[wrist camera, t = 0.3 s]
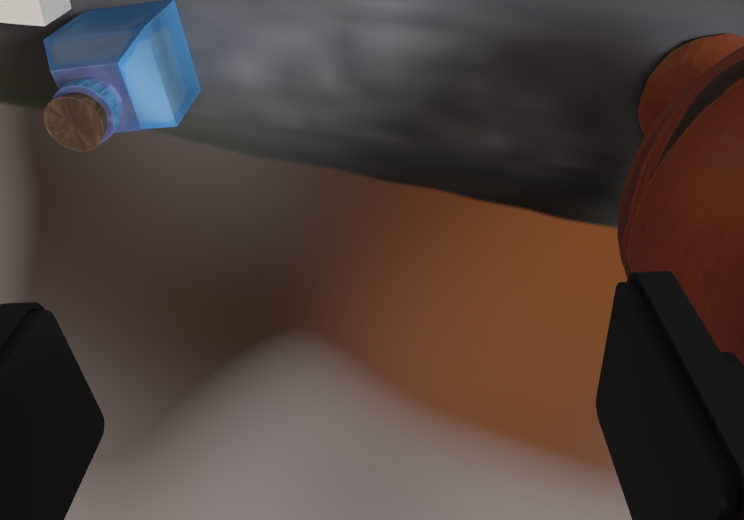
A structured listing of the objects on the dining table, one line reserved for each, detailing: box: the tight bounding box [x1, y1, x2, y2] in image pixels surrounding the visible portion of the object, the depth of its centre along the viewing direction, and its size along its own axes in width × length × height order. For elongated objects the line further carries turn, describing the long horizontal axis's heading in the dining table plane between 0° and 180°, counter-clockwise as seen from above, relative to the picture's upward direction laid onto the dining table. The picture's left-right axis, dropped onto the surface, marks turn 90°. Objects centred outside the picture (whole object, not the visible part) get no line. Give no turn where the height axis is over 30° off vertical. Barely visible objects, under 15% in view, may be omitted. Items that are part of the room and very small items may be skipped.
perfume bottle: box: [43, 0, 201, 151], centre depth 39 cm, size 6×6×12 cm
